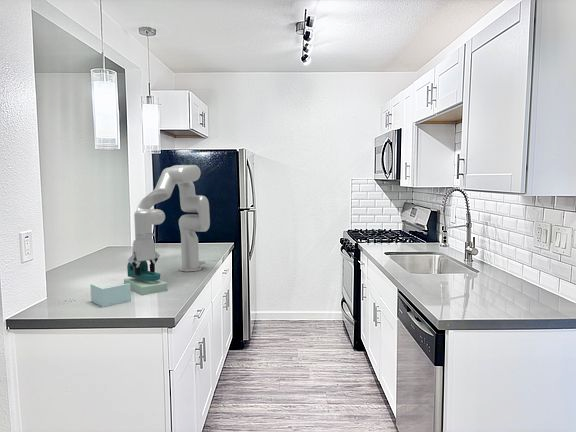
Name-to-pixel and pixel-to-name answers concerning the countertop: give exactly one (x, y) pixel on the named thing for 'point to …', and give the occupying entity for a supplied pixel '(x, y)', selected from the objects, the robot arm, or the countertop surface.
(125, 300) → the l-shaped corner panel
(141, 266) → the bracket
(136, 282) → the base plate
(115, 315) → the countertop surface
